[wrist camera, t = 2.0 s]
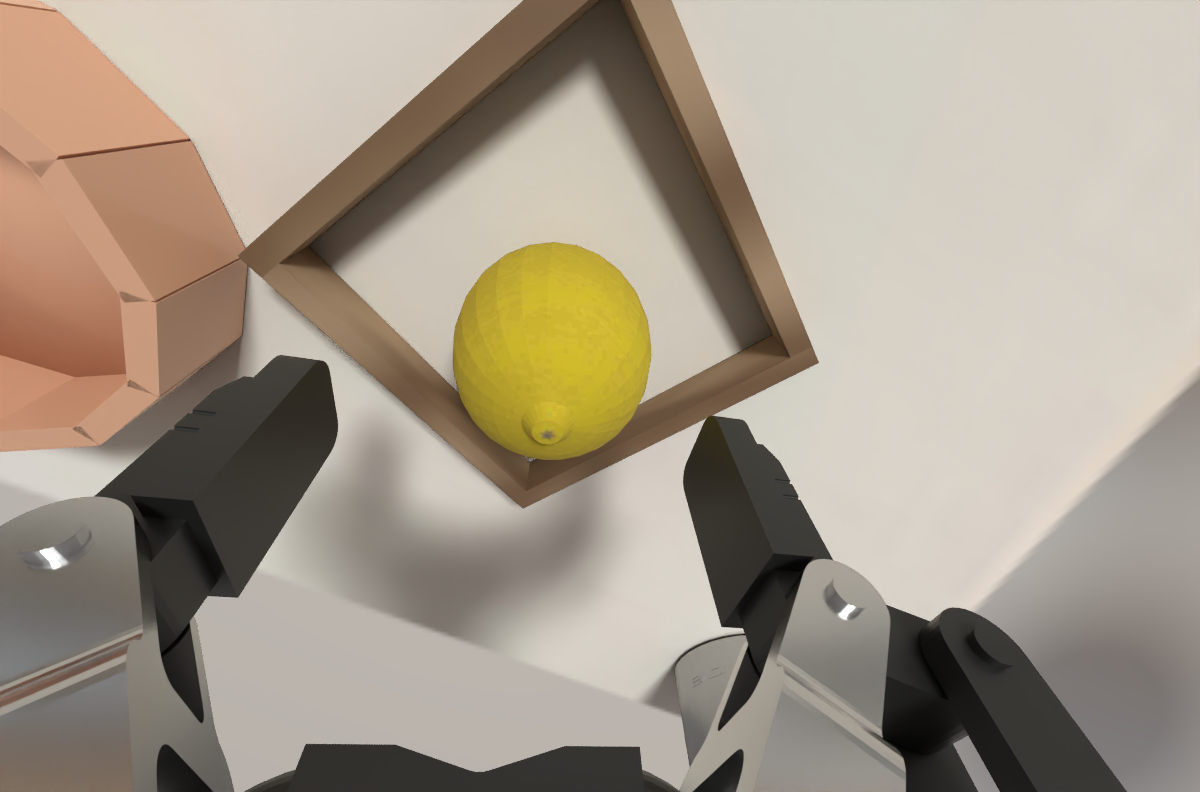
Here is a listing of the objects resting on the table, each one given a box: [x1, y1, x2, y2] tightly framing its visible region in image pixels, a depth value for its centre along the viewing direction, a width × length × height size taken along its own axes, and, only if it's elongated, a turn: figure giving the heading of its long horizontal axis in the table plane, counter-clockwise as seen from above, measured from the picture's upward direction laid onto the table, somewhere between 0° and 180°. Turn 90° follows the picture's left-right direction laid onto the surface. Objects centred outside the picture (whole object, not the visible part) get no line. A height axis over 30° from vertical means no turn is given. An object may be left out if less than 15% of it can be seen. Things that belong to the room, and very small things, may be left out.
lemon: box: [453, 242, 651, 460], centre depth 13 cm, size 6×6×8 cm
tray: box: [238, 0, 819, 508], centre depth 15 cm, size 14×14×2 cm
